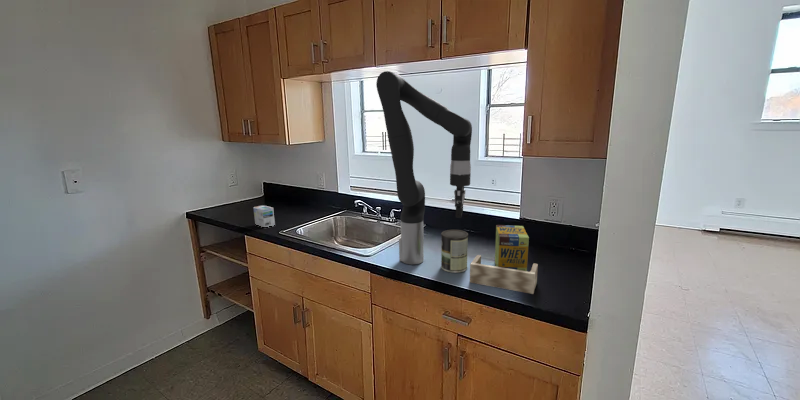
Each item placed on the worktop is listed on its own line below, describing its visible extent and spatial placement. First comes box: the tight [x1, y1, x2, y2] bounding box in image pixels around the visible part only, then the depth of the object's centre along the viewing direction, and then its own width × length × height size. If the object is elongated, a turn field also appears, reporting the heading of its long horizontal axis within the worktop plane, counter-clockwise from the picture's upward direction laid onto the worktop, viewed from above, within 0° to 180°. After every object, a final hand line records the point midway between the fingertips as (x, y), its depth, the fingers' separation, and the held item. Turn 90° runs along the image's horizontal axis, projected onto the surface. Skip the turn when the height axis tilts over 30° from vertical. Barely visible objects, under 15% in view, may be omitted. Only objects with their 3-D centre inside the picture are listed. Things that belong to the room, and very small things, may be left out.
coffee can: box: [440, 229, 469, 274], centre depth 142 cm, size 10×10×14 cm
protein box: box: [494, 224, 530, 271], centre depth 140 cm, size 10×15×16 cm
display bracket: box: [469, 254, 539, 295], centre depth 129 cm, size 22×10×7 cm, turn 64°
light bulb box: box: [252, 204, 276, 228], centre depth 206 cm, size 11×7×11 cm, turn 49°
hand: (459, 215), depth 139 cm, fingers open, 8 cm apart
